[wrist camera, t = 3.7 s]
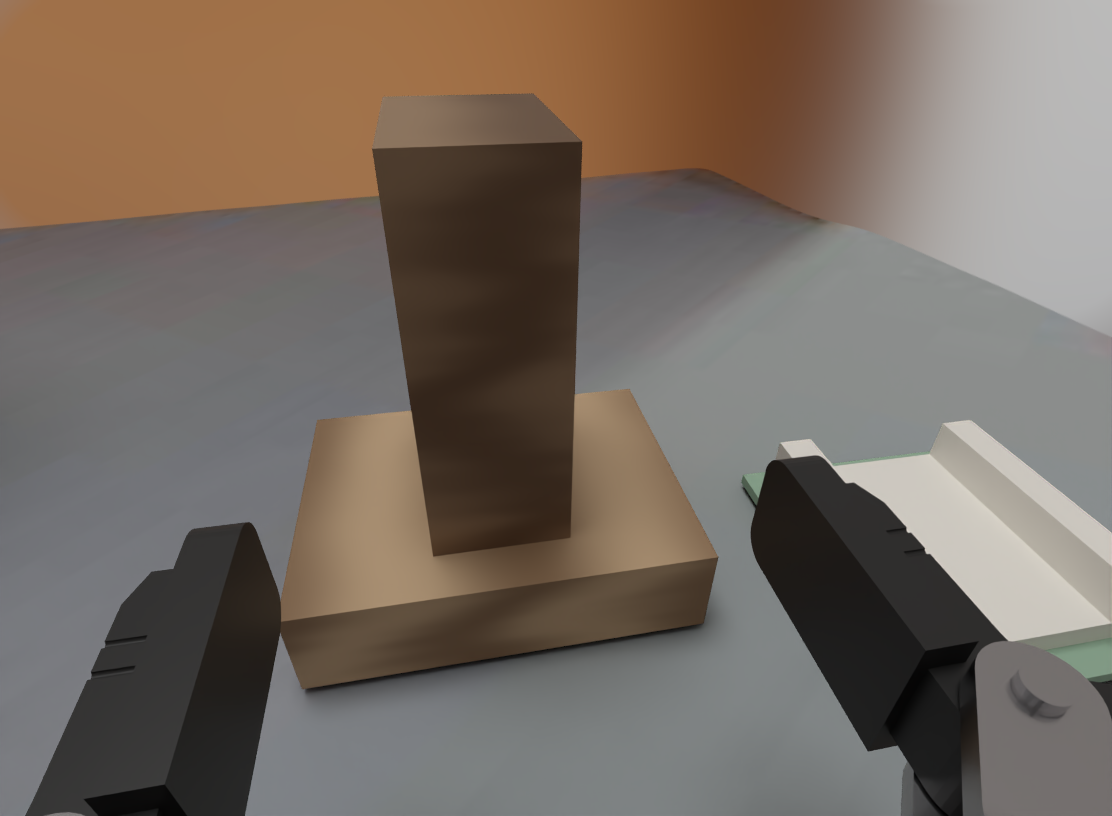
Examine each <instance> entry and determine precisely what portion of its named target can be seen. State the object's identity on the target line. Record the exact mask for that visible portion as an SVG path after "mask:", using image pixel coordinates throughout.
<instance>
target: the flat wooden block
mask: <svg viewBox="0 0 1112 816" xmlns="http://www.w3.org/2000/svg"><path fill="white" fill-rule="evenodd" d="M717 561H718V556H717V554H716V552H715V550H714V548H713V546H712V544H711V543H710V541H709V539H708V537H707V535H706V533H705V531H704V529H703V527H702V526H701V524H700V522H699V520H698V518H697V516H696V514H695V512H694V510H693V509H692V507H691V505H690V503H689V501H688V499H687V497H686V495H685V493H684V492H683V490H682V488H681V486H680V484H679V482H678V480H677V478H676V476H675V474H674V473H673V471H672V469H671V467H670V465H669V463H668V461H667V459H666V457H665V456H664V454H663V452H662V450H661V448H660V446H659V444H658V442H657V440H656V439H655V437H654V435H653V433H652V431H651V429H650V427H649V425H648V423H647V422H646V420H645V418H644V416H643V414H642V412H641V410H640V408H639V406H638V405H637V403H636V401H635V399H634V397H633V395H632V393H631V391H630V389H624V390H614V391H604V392H594V393H584V394H575V402H574V436H573V469H572V503H571V537H570V538H566V539H559V540H552V541H544V542H537V543H530V544H522V545H515V546H508V547H500V548H493V549H486V550H478V551H471V552H464V553H456V554H449V555H442V556H435V557H433V553H432V546H431V539H430V533H429V526H428V519H427V513H426V506H425V499H424V492H423V486H422V479H421V472H420V466H419V459H418V452H417V445H416V439H415V432H414V425H413V419H412V412H411V411H403V412H393V413H383V414H373V415H363V416H353V417H343V418H333V419H323V420H317V424H316V429H315V434H314V439H313V444H312V449H311V454H310V459H309V464H308V469H307V474H306V479H305V483H304V488H303V493H302V498H301V503H300V508H299V513H298V518H297V523H296V528H295V533H294V538H293V543H292V548H291V552H290V557H289V562H288V567H287V572H286V577H285V582H284V587H283V592H282V597H281V602H280V603H281V629H280V633H281V636H282V638H283V641H284V643H285V646H286V649H287V651H288V654H289V656H290V659H291V662H292V664H293V667H294V669H295V672H296V675H297V677H298V680H299V682H300V685H301V687H302V689H307V688H313V687H319V686H325V685H331V684H337V683H344V682H350V681H356V680H362V679H368V678H374V677H380V676H386V675H392V674H398V673H404V672H410V671H416V670H423V669H429V668H435V667H441V666H447V665H453V664H459V663H465V662H471V661H477V660H483V659H489V658H496V657H502V656H508V655H514V654H520V653H526V652H532V651H538V650H544V649H550V648H556V647H562V646H568V645H575V644H581V643H587V642H593V641H599V640H605V639H611V638H617V637H623V636H629V635H635V634H641V633H647V632H654V631H660V630H666V629H672V628H678V627H684V626H690V625H696V624H702V623H704V619H705V614H706V610H707V605H708V601H709V596H710V592H711V587H712V583H713V578H714V574H715V570H716V565H717Z"/></svg>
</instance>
